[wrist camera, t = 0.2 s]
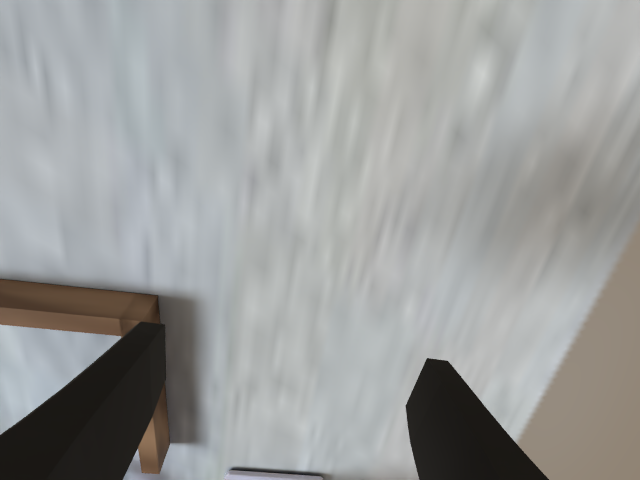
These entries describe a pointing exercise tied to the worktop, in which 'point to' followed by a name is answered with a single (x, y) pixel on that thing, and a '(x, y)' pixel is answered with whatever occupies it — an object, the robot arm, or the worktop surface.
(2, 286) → the corral
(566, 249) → the worktop surface
